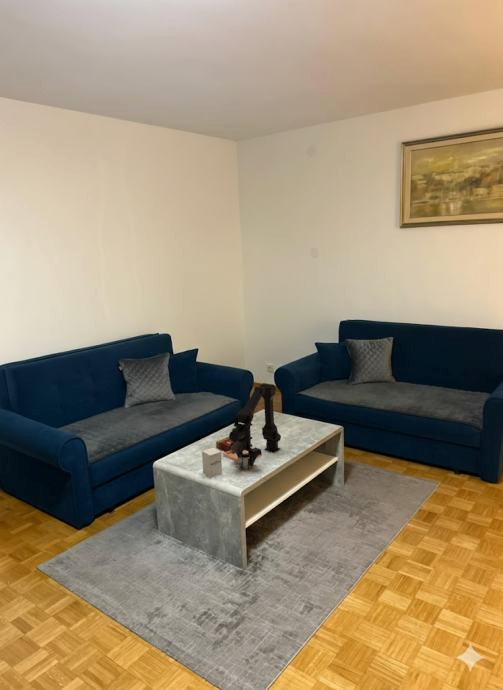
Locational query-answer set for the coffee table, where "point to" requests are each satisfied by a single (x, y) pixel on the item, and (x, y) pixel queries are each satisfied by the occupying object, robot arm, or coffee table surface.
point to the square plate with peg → (248, 469)
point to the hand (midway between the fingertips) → (245, 463)
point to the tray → (235, 455)
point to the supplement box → (211, 462)
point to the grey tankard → (244, 462)
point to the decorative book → (224, 444)
